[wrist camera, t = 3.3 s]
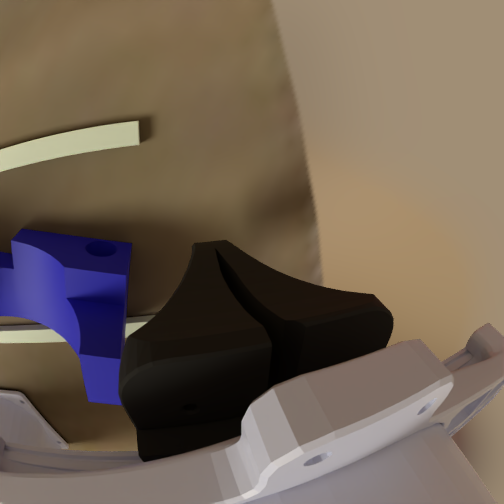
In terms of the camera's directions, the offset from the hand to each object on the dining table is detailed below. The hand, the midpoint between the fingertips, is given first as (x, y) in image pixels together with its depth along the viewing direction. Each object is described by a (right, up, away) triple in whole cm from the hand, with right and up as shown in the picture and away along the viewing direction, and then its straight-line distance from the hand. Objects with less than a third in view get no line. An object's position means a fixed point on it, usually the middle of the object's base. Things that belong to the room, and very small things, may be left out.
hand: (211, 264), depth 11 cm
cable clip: (-10, 0, +1) cm, 10 cm away
